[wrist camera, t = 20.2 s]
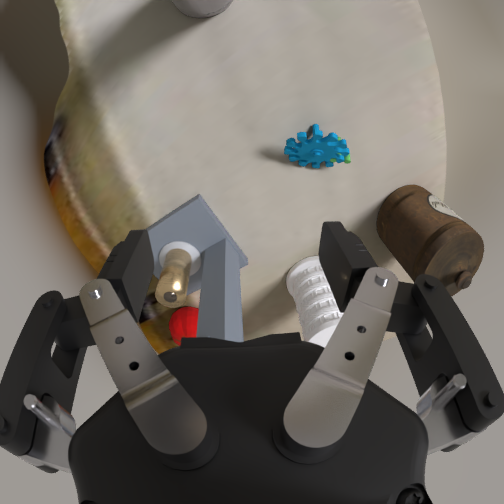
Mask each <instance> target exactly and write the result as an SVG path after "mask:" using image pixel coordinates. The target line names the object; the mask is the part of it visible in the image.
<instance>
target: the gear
mask: <svg viewBox="0 0 504 504" xmlns="http://www.w3.org/2000/svg"><path fill="white" fill-rule="evenodd" d="M322 137H323V133H322V131H320V130H319V125H318V124H314V125H313V137H312V138H311V139H307V136H306V132H300V133H297V139H298V140H299V141H301V143H296V142H295V139H294V138H289V139H288V140H286V145H287V146H285V149H284V154H287V155H289V160H290V161H291V162H294V161H297V160H299V165H300V166H303V167H304V166H306V165H307V164H308V163H311V162H312V167H313V168H319V167H320V163H321V162H323V161H325V164H326V167H333V162H337V163H341V162H344V163H350V162H351V161H350V154H349V148H347V144H346V140H345V139H342V140H341V138H340V137H338V136H337V135H336V134H335V133H333V132H332V133H330V134H329V135H328V136H326V137H324V138H322ZM292 147H293V148H295V149H293V148H292Z"/></svg>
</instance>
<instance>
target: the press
mask: <svg viewBox="0 0 504 504" xmlns="http://www.w3.org/2000/svg"><path fill="white" fill-rule="evenodd" d="M146 230H147V231H148V234H149V239H150V243H151V248H152V252H153V256H154V272H153V274H154V275H155V276H156V277H157V278H158V279H159V278H160V274H161V271H162V267H163V264H164V261H165V257H166V254H167V253H168V252H169V251H170V250H172V249H176V248H179V249H183V250H185V251H187V252H188V253H189V254H190V255H191V258H192V264H191V270H190V276H189V282H188V288H187V294H186V296H187V295H189V294H191V293H193V292H195V291H197V290H199V289H201V293H200V302H199V312H198V323H197V334H196V337H212V338H217V339H223V340H228V341H234V342H244V340H243V323H242V305H241V287H240V268H242V267H244V266H246V265H248V259H247V257H246V256H245V254H244V253H243V252H242V250H241V249H240V248H239V246H238V245H237V244H236V242H235V241H234V240H233V238H232V237H231V236H230V234H229V233H228V232H227V230H226V229H225V228H224V226H223V225H222V224H221V222H220V221H219V220H218V218H217V217H216V216H215V214H214V213H213V212H212V210H211V209H210V208H209V206H208V205H207V203H206V202H205V201H204V199H203V198H202V197H201V195H200V194H199V195H197V196H195V197H194V198H192V199H191V200H189V201H188V202H186V203H184V204H183V205H181V206H180V207H178V208H177V209H175V210H174V211H172V212H171V213H169V214H168V215H166V216H165V217H163V218H162V219H160V220H159V221H157V222H156V223H154V224H153V225H151V226H150V227H148V228H147V229H146Z"/></svg>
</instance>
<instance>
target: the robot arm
mask: <svg viewBox="0 0 504 504" xmlns="http://www.w3.org/2000/svg"><path fill="white" fill-rule="evenodd" d="M171 1H172V2H173V3H174V4H175V6H176V7H177V8H178V9H179V10H180V11H181V12H182V13H183V14H185V15H188V16H191V17H195V18H206V17H211V16H214V15H217V14H219V13H221V12H222V11H224V10H225V9H226V8H227V7H229V5H230V4H231V3H232V1H233V0H171ZM319 261H320V264H321V267H322V269H323V272H324V274H325V276H326V279H327V281H328V284H329V286H330V289H331V291H332V293H333V296H334V298H335V301H336V303H337V306H338V309H339V311H340V313H344V314H343V316H342V317H341V319H340V321H339V323H338V325H337V327H336V329H335V331H334V332H333V334H332V336H331V338H330V340H329V341H328V343H327V345H326V347H325V348H324V347H322V346H320V345H317V344H314V343H311V342H307V341H301V337H300V333H299V332H296V333H284V334H270V335H267V336H263V337H260V338H256V339H252V340H248V341H245V342H234V341H228V340H223V339H217V338H212V337H181V344H180V346H179V347H175V348H172V349H169V350H167V351H165V352H163V353H161V354H159V355H157V354H156V352H155V351H154V350H153V348H152V347H151V345H150V344H149V342H148V341H147V339H146V338H145V336H144V335H143V333H142V332H141V330H140V329H139V327H138V326H137V324H136V322H138V321H139V318H140V314H141V311H142V307H143V304H144V301H145V297H146V294H147V291H148V288H149V284H150V281H151V278H152V275H153V272H154V256H153V252H152V248H151V243H150V239H149V234H148V231H147V230H146V229H144V230H131V231H130V232H129V234H128V236H127V237H126V239H125V241H121V242H120V243H119V244H117V245H116V246H115V247H114V248H113V250H112V251H111V253H110V255H109V257H108V259H107V260H106V262H105V264H104V266H103V268H102V270H101V272H100V273H99V275H98V277H97V279H95V280H92V281H90V282H88V283H87V284H85V285H84V286H83V287H82V289H81V290H80V293H79V296H75V297H71V298H68V299H63V297H62V295H61V293H60V292H58V291H49V292H47V293H45V294H43V295H42V296H41V297H40V298H39V299H38V300H37V301H36V303H35V305H34V307H33V309H32V311H31V313H30V315H29V317H28V319H27V321H26V323H25V325H24V327H23V329H22V331H21V334H20V336H19V338H18V340H17V343H16V345H15V347H14V349H13V352H12V354H11V357H10V359H9V362H8V364H7V367H6V369H5V372H4V375H3V377H2V380H1V383H0V446H1V447H2V448H4V449H6V450H7V451H9V452H10V453H12V454H14V455H16V456H17V457H19V458H21V459H22V460H24V461H26V462H28V463H30V464H31V465H33V466H36V467H37V468H39V469H41V470H43V471H45V472H48V473H56V472H57V471H59V470H62V471H65V472H69V473H72V475H73V478H74V481H75V485H76V489H77V493H78V500H79V504H433V503H432V501H431V500H430V498H429V496H428V494H427V492H426V489H425V482H424V480H425V476H424V474H425V463H426V458H427V455H429V454H431V453H434V452H437V451H439V450H441V451H443V452H449V451H452V450H454V449H456V448H457V447H459V446H460V445H462V444H464V443H467V442H468V441H470V440H471V439H473V438H474V437H475V436H477V435H478V434H480V433H481V432H482V431H484V430H485V429H486V428H487V427H488V426H489V425H491V424H492V423H493V422H494V421H496V420H497V419H498V418H499V417H500V416H502V414H503V413H504V393H503V391H502V389H501V387H500V384H499V382H498V380H497V378H496V375H495V374H494V372H493V369H492V367H491V365H490V363H489V361H488V359H487V357H486V355H485V354H484V351H483V350H482V348H481V346H480V344H479V342H478V340H477V338H476V337H475V335H474V333H473V331H472V330H471V328H470V326H469V325H468V323H467V321H466V319H465V318H464V316H463V314H462V313H461V311H460V310H459V308H458V306H457V305H456V303H455V302H454V300H453V299H452V297H451V296H450V294H449V293H448V291H447V290H446V288H445V287H444V285H443V284H442V282H441V281H440V280H438V279H437V278H436V277H434V276H431V275H428V274H421V275H419V276H417V278H416V280H415V282H414V284H411V283H405V282H399V281H398V278H397V276H396V275H395V274H394V273H393V272H391V271H390V270H388V269H385V268H382V267H378V266H377V264H376V263H375V261H374V260H373V258H372V256H371V255H370V253H369V252H368V251H367V249H366V247H365V246H364V245H363V243H362V242H361V240H360V239H359V237H357V236H356V235H355V234H353V233H352V232H347V231H346V229H345V228H344V226H343V225H342V223H341V222H324V223H323V226H322V232H321V240H320V246H319ZM427 323H428V324H429V326H430V328H431V330H432V333H433V339H432V337H431V335H430V333H429V331H428V329H427V327H426V325H427ZM386 331H389V332H395V333H396V335H397V337H398V340H399V342H400V345H401V347H402V350H403V352H404V355H405V357H406V360H407V362H408V365H409V368H410V370H411V373H412V376H413V378H414V381H415V384H416V387H417V389H418V392H419V395H420V398H419V400H418V402H417V414H416V413H415V412H414V411H412V410H411V409H409V408H408V407H407V406H405V405H404V404H402V403H401V402H400V401H398V400H397V399H395V398H394V397H393V396H391V395H390V394H388V393H387V392H386V391H384V390H383V389H381V388H380V387H379V386H377V385H376V384H374V383H373V382H371V381H370V380H369V379H368V378H369V376H370V373H371V371H372V368H373V365H374V363H375V360H376V357H377V355H378V352H379V349H380V346H381V344H382V341H383V338H384V335H385V332H386ZM54 341H55V343H56V347H55V350H54V352H53V355H52V358H51V348H52V345H53V343H54ZM92 345H97V347H98V349H99V351H100V354H101V356H102V358H103V360H104V362H105V365H106V367H107V369H108V371H109V373H110V375H111V377H112V379H113V381H114V383H115V385H116V386H117V388H118V390H119V391H118V392H117V393H116V394H115V395H114V396H113V397H112V398H110V399H109V400H108V401H107V402H106V403H105V404H104V405H103V406H102V407H101V408H100V409H99V410H98V411H96V412H95V413H94V414H93V415H92V416H91V417H90V418H89V419H88V420H87V421H86V422H84V423H83V424H82V425H81V426H80V427H79V428H78V429H77V430H76V424H75V420H74V418H73V417H72V415H71V411H72V406H73V401H74V397H75V392H76V388H77V383H78V379H79V375H80V372H81V368H82V364H83V360H84V356H85V353H86V350H87V347H88V346H92Z"/></svg>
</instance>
